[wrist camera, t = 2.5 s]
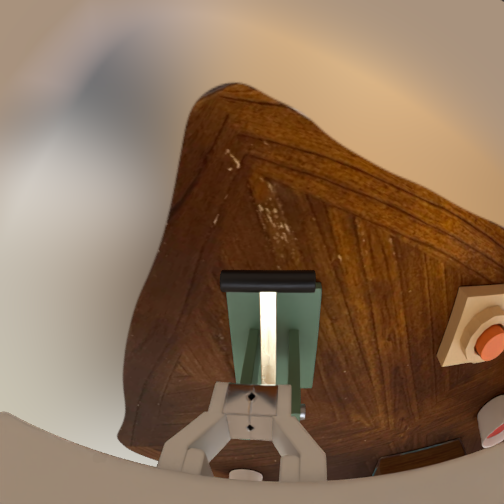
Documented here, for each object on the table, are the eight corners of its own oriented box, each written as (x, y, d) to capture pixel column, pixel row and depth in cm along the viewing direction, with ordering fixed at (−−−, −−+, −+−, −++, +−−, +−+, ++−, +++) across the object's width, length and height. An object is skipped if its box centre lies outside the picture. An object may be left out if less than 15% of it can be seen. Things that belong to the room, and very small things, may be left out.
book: (428, 481, 49) (432, 497, 44) (361, 496, 52) (363, 512, 47) (461, 436, 40) (467, 456, 36) (378, 457, 43) (381, 479, 38)
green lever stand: (227, 281, 30) (198, 367, 19) (320, 282, 29) (335, 370, 18) (237, 379, 36) (222, 460, 25) (311, 381, 35) (314, 463, 24)
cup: (260, 487, 51) (254, 540, 38) (213, 476, 50) (201, 530, 38) (282, 471, 46) (277, 532, 34) (228, 459, 46) (216, 523, 33)
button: (482, 326, 25) (488, 335, 24) (505, 322, 25) (512, 331, 23) (470, 353, 27) (476, 363, 25) (494, 349, 27) (500, 358, 25)
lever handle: (224, 264, 21) (217, 277, 19) (313, 264, 20) (317, 278, 18) (236, 410, 25) (232, 429, 23) (303, 412, 25) (303, 432, 22)
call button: (459, 286, 28) (475, 306, 24) (512, 283, 27) (529, 300, 23) (436, 355, 32) (446, 377, 28) (487, 347, 31) (499, 366, 27)
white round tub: (468, 428, 39) (477, 453, 33) (476, 402, 36) (488, 430, 30) (505, 409, 37) (516, 433, 31) (516, 382, 34) (530, 407, 28)
